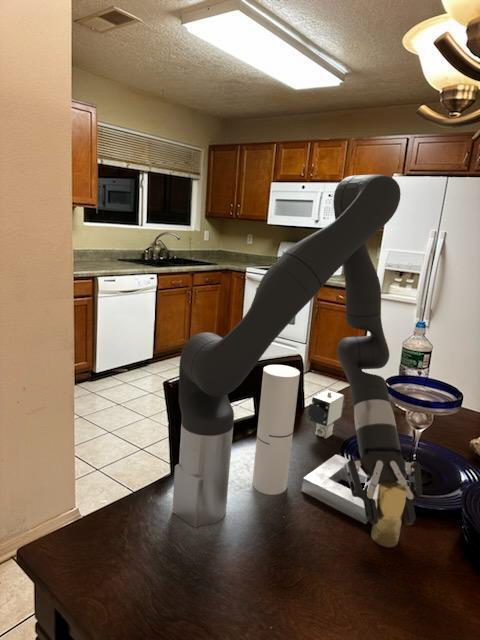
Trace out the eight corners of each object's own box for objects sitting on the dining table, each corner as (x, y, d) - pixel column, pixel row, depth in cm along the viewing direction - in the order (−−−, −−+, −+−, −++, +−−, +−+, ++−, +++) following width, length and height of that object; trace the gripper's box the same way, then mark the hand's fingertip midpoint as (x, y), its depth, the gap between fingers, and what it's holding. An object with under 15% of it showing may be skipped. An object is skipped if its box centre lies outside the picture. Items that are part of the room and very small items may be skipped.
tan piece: (391, 551, 75) (401, 499, 73) (366, 537, 78) (374, 487, 76) (401, 538, 79) (410, 488, 77) (377, 525, 82) (385, 477, 79)
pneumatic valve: (341, 430, 119) (347, 389, 116) (320, 445, 110) (326, 400, 107) (323, 424, 122) (329, 383, 120) (301, 437, 113) (307, 394, 111)
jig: (365, 524, 82) (367, 509, 81) (301, 491, 90) (303, 477, 90) (394, 493, 92) (396, 480, 92) (334, 466, 101) (336, 454, 100)
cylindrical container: (284, 497, 88) (298, 379, 82) (249, 490, 89) (260, 373, 84) (288, 478, 94) (301, 367, 89) (255, 472, 96) (266, 362, 90)
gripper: (345, 420, 81) (359, 520, 72) (420, 423, 82) (442, 521, 73) (333, 433, 87) (344, 526, 78) (403, 435, 89) (421, 527, 80)
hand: (392, 523), depth 76 cm, fingers open, 5 cm apart
